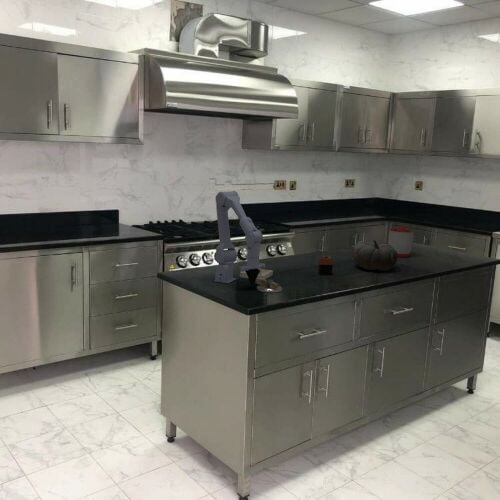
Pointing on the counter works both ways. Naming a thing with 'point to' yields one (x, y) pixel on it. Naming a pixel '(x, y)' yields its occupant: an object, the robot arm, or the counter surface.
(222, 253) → the robot arm
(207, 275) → the counter surface
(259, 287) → the crank base
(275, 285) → the crank lever
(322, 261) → the battery
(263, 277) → the tray
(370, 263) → the gourd
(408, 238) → the citrus juicer
